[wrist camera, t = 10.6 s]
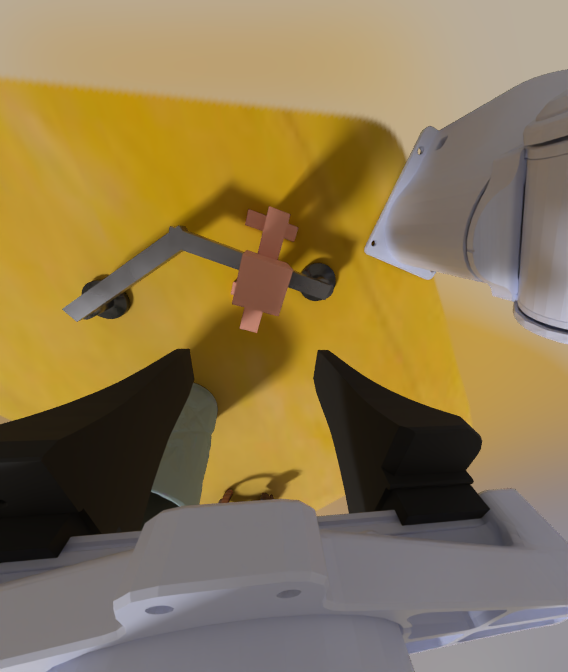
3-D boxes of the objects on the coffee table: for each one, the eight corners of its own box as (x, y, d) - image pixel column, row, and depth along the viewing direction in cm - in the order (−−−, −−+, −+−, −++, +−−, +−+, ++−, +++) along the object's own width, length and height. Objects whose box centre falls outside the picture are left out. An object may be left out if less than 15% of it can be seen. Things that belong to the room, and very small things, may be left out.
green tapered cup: (209, 439, 29) (177, 557, 19) (131, 422, 27) (43, 549, 16) (233, 388, 26) (211, 499, 15) (146, 362, 23) (43, 475, 12)
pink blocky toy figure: (297, 227, 18) (330, 222, 9) (274, 304, 21) (281, 357, 12) (248, 209, 17) (232, 185, 8) (231, 293, 20) (205, 340, 11)
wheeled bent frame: (81, 168, 15) (17, 145, 11) (339, 270, 20) (358, 279, 16) (87, 310, 20) (44, 329, 16) (296, 364, 25) (302, 389, 21)
